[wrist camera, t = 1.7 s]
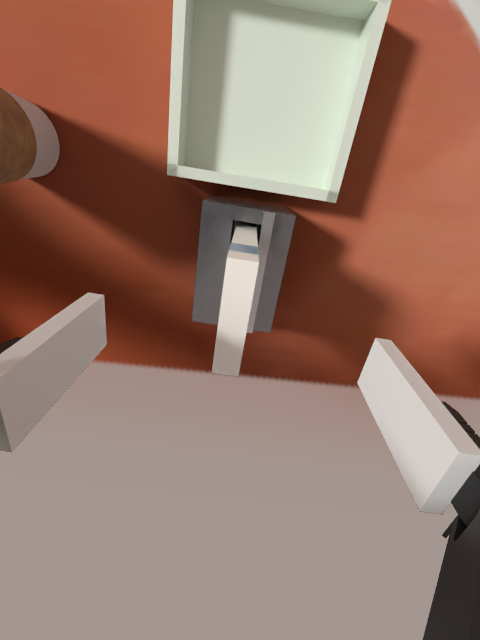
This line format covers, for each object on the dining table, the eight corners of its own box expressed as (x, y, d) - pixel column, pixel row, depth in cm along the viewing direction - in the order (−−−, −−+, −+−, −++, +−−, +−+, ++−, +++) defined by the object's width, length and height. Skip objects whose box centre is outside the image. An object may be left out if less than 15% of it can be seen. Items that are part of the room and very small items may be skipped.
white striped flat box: (228, 290, 30) (211, 372, 18) (238, 218, 27) (226, 257, 15) (244, 292, 30) (238, 376, 18) (256, 221, 27) (259, 262, 15)
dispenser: (201, 295, 32) (190, 324, 26) (212, 195, 27) (201, 201, 21) (267, 305, 32) (270, 336, 26) (287, 207, 28) (297, 216, 22)
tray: (176, 174, 27) (167, 174, 24) (186, -22, 21) (175, -56, 18) (326, 199, 27) (335, 202, 24) (374, 13, 22) (395, -14, 18)
